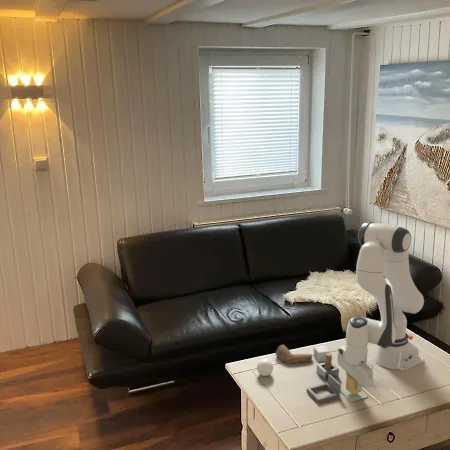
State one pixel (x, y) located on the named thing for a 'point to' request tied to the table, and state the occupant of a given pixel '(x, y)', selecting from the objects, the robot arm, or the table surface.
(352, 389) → the block
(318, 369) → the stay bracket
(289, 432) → the table surface
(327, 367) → the rod
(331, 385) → the case
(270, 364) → the white ovoid
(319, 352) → the small box
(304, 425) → the table surface
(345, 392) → the pad
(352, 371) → the robot arm
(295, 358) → the pipe
